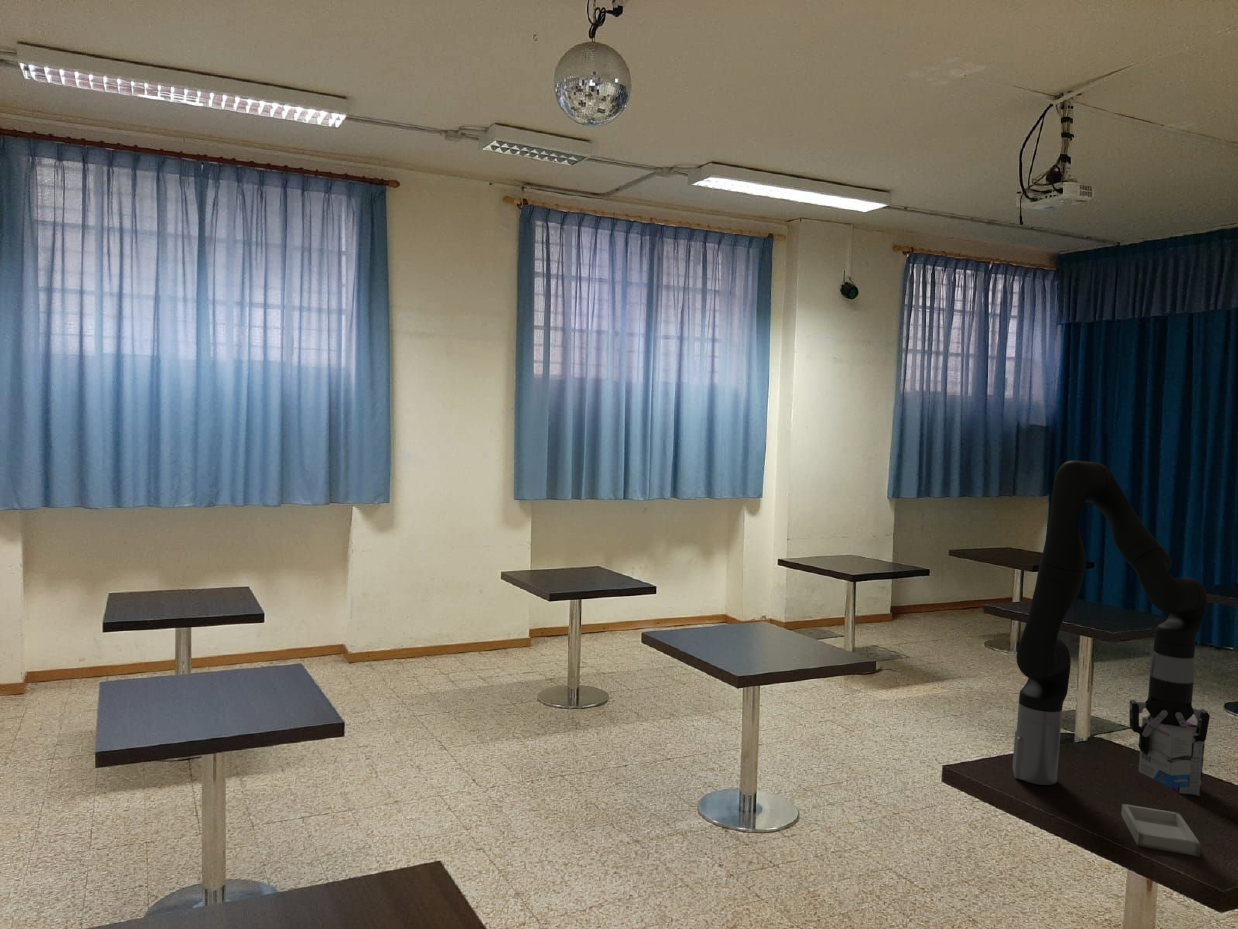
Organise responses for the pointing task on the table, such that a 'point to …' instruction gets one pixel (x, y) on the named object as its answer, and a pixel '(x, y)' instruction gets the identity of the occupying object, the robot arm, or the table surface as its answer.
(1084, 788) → the table surface
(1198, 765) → the candy bar box
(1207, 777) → the table surface
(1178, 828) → the tray
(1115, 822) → the table surface
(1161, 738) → the ink box
